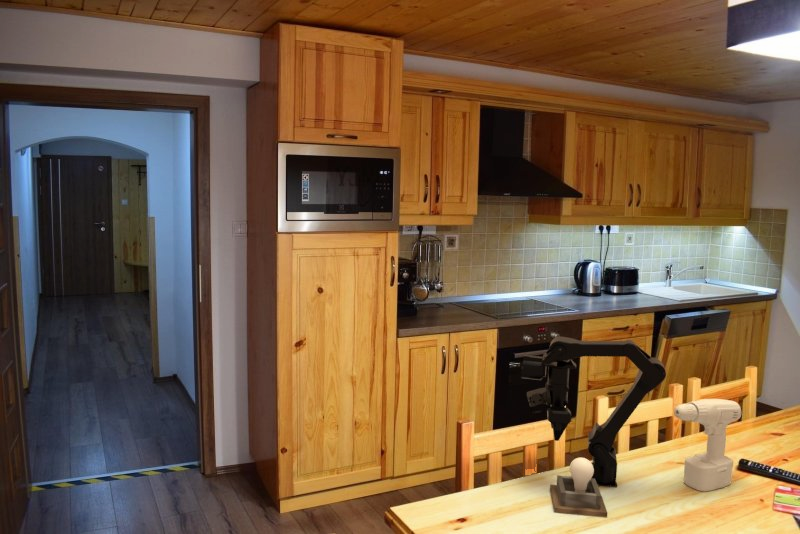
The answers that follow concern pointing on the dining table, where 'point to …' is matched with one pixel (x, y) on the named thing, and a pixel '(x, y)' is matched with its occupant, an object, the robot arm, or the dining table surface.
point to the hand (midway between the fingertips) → (554, 434)
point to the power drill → (709, 442)
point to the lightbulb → (581, 473)
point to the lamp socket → (577, 498)
